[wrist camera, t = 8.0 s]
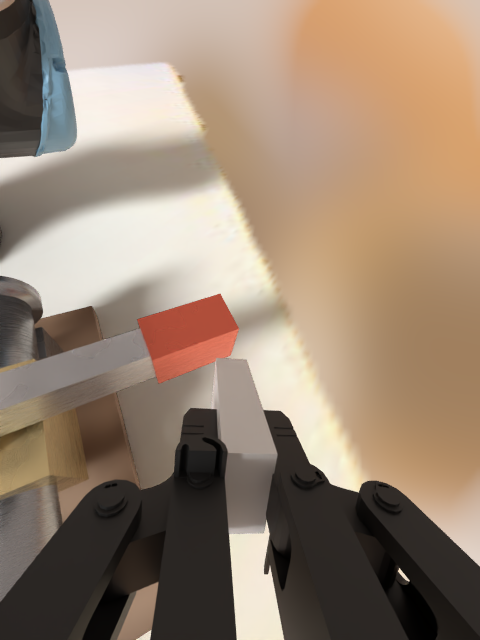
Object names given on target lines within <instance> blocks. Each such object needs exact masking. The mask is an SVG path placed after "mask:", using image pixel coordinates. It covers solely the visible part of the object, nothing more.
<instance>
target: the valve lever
mask: <svg viewBox="0 0 480 640" xmlns="http://www.w3.org/2000/svg"><path fill="white" fill-rule="evenodd" d="M137 321H138V324H139V327H140V328H139V329H135V330H132V331H129V332H126V333H123V334H120V335H117V336H114V337H111V338H107V339H104V340H101V341H98V342H95V343H92V344H89V345H86V346H82V347H79V348H76V349H73V350H70V351H67V352H64V353H61V354H58V355H54V356H51V357H48V358H45V359H42V360H39V361H36V362H33V363H30V364H26V365H23V366H20V367H17V368H14V369H11V370H8V371H5V372H1V373H0V439H1V436H3V435H6V434H9V433H11V432H14V431H16V430H19V429H22V428H24V427H27V426H29V425H32V424H34V423H37V422H40V421H42V420H45V419H47V418H50V417H53V416H55V415H58V414H60V413H63V412H66V411H68V410H71V409H73V408H76V407H78V406H81V405H84V404H86V403H89V402H91V401H94V400H97V399H99V398H102V397H104V396H107V395H110V394H112V393H115V392H117V391H120V390H123V389H125V388H128V387H130V386H133V385H135V384H138V383H141V382H143V381H146V380H148V379H151V378H154V377H156V378H157V380H158V383H162V382H164V381H167V380H170V379H172V378H175V377H177V376H180V375H182V374H185V373H187V372H190V371H192V370H195V369H197V368H200V367H202V366H205V365H207V364H210V363H212V362H215V361H216V358H225V357H228V356H230V355H231V352H232V349H233V346H234V343H235V340H236V337H237V333H238V330H239V328H238V326H237V324H236V322H235V320H234V319H233V317H232V315H231V313H230V311H229V309H228V307H227V305H226V304H225V302H224V300H223V298H222V296H221V294H218V295H214V296H211V297H208V298H205V299H201V300H198V301H195V302H192V303H189V304H185V305H182V306H179V307H176V308H172V309H169V310H166V311H163V312H159V313H156V314H153V315H150V316H147V317H143V318H140V319H137Z"/></svg>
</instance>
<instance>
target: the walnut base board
mask: <svg viewBox="0 0 480 640" xmlns="http://www.w3.org/2000/svg"><path fill="white" fill-rule="evenodd" d="M39 327H43V328H44V329H45V331H46V332H47V333H48V334H49V335H50V336H51V337H52V338H53V340H54V341H55V342H56V343H57V344H58V345H59V346H60V347H61V348H62V350H63V351H64V352H67V351H70V350H73V349H76V348H79V347H82V346H86V345H89V344H92V343H95V342H98V341H101V340H103V338H102V334H101V330H100V326H99V322H98V318H97V315H96V313H95V311H94V309H93V307H92V306H89V307H85V308H82V309H78V310H74V311H70V312H66V313H62V314H58V315H54V316H50V317H46V318H42V319H40V320H39V321H38V322H37V323H36V324H35V328H39ZM76 412H77V418H78V423H79V428H80V434H81V439H82V445H83V450H84V455H85V461H86V466H87V471H88V477H89V479H88V480H86V481H84V482H82V483H79V484H77V485H75V486H72V487H70V488H68V489H66V490H63V491H61V492H59V493H58V494H59V501H60V508H61V515H62V522H63V523H64V521H65V520H66V519H67V518H68V516H69V515H70V514H71V513H72V511H73V510H74V509H75V508H76V506H77V505H78V504H79V502H80V501H81V500H82V499H83V497H84V496H85V495H86V494H87V493H88V492H90V491H91V490H92V489H93V488H94V487H96V486H98V485H100V484H102V483H104V482H107V481H111V480H115V479H117V480H128V481H130V482H133V483H135V484H136V485H137V486H138V488H139V489H140V490H141V488H140V484H139V480H138V476H137V472H136V468H135V464H134V460H133V456H132V452H131V448H130V445H129V441H128V437H127V433H126V429H125V425H124V421H123V417H122V413H121V409H120V405H119V401H118V397H117V393H116V392H115V393H112V394H110V395H107V396H104V397H102V398H99V399H97V400H94V401H91V402H89V403H86V404H84V405H81V406H78V407H76ZM158 583H159V582H157V583H155V584H152V585H150V586H147V587H145V588H143V589H140V590H138V591H137V592H136V595H135V598H134V600H133V602H132V605H131V607H130V610H129V612H128V614H127V617H126V619H125V622H124V624H123V626H122V629H121V631H120V634H119V636H118V638H117V640H136V639H137V638H139V637H140V636H142V635H144V634H145V633H147V632H148V631H150V630H151V629H152V624H153V617H154V610H155V603H156V597H157V590H158Z"/></svg>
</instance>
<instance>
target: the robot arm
mask: <svg viewBox="0 0 480 640" xmlns="http://www.w3.org/2000/svg"><path fill="white" fill-rule="evenodd" d="M65 65H66V64H65V60H64V56H63V49H62V44H61V40H60V36H59V32H58V28H57V24H56V21H55V17H54V14H53V11H52V8H51V6H50V3H49V1H48V0H0V158H8V157H22V156H34V157H37V156H41V155H42V154H45V153H52V152H59V151H66V150H67V149H69V148H70V147H72V146H73V145H74V144H75V141H76V138H77V125H76V116H75V109H74V103H73V97H72V91H71V86H70V81H69V77H68V73H67V70H66V68H65ZM1 239H2V232H1V228H0V243H1ZM266 519H267V523H268V528H269V533H270V536H269V541H268V547H267V553H266V558H265V564H264V574H268V572H269V567H270V566H271V572H272V577H273V582H274V588H275V593H276V598H277V603H278V609H279V614H280V619H281V624H282V630H283V635H284V640H480V566H478V565H477V564H476V563H475V562H474V561H473V560H472V559H471V558H470V557H469V556H468V555H467V554H466V553H465V552H464V551H463V550H461V548H460V547H459V546H458V545H456V543H454V542H453V541H452V540H451V539H450V538H449V537H448V536H447V535H446V534H445V533H444V532H443V531H442V530H441V529H440V528H439V527H438V526H437V525H436V524H435V523H434V522H433V521H431V520H430V519H429V518H428V517H427V516H426V515H425V514H424V513H423V512H422V511H421V510H420V509H419V508H418V507H417V506H416V505H415V504H414V503H413V502H412V501H411V500H410V499H408V498H407V497H406V496H405V495H404V494H403V493H401V492H400V491H399V490H398V489H396V488H394V487H392V486H390V485H388V484H386V483H383V482H379V481H367V482H365V483H363V484H362V486H361V488H360V491H359V493H358V492H354V491H351V490H347V489H343V488H340V487H337V486H334V485H332V484H330V483H329V481H328V479H327V477H326V476H325V475H324V473H323V472H322V471H321V470H319V469H318V468H317V467H315V466H313V465H311V464H310V463H309V461H308V459H307V457H306V454H305V452H304V450H303V448H302V446H301V444H300V441H299V439H298V437H297V435H296V433H295V431H294V430H293V426H292V424H291V422H290V420H289V418H288V417H286V416H285V415H284V414H283V413H282V412H281V411H268V410H263V408H262V405H261V402H260V399H259V396H258V393H257V390H256V387H255V384H254V381H253V378H252V375H251V372H250V369H249V366H248V363H247V360H242V359H227V358H216V363H215V373H214V383H213V393H212V403H211V409H199V408H190V409H189V410H188V412H187V413H186V414H185V415H184V418H183V426H182V432H181V439H180V443H179V444H178V446H177V448H176V452H175V466H174V473H173V474H172V476H171V477H170V478H169V479H167V480H166V481H165V482H163V483H161V484H160V485H157V486H154V487H152V488H148V489H144V490H140V489H139V488H138V486H137V485H136V484H135V483H133V482H130V481H128V480H117V479H115V480H111V481H107V482H104V483H102V484H100V485H98V486H96V487H94V488H93V489H92V490H91V491H90V492H88V493H87V494H86V495H85V496H84V497H83V499H82V500H81V501H80V502H79V504H78V505H77V506H76V508H75V509H74V510H73V511H72V513H71V514H70V515H69V516H68V518H67V519H66V520H65V521H64V523H63V524H62V525H61V526H60V528H59V529H58V530H57V531H56V533H55V534H54V535H53V536H52V538H51V539H50V540H49V541H48V543H47V544H46V545H45V547H44V548H43V549H42V550H41V552H40V553H39V554H38V555H37V557H36V558H35V559H34V560H33V562H32V563H31V564H30V565H29V567H28V568H27V569H26V570H25V572H24V573H23V574H22V575H21V577H20V578H19V579H18V580H17V582H16V583H15V584H14V585H13V587H12V588H11V589H10V591H9V592H8V593H7V594H6V596H5V597H4V598H3V599H2V601H1V602H0V640H117V638H118V636H119V634H120V631H121V629H122V626H123V624H124V622H125V619H126V617H127V614H128V612H129V610H130V607H131V605H132V602H133V600H134V598H135V595H136V592H137V591H138V590H140V589H143V588H145V587H147V586H150V585H152V584H155V583H157V582H159V583H158V590H157V597H156V603H155V610H154V617H153V624H152V631H151V638H150V640H237V638H236V624H235V611H234V597H233V583H232V570H231V556H230V543H229V534H244V533H264V531H265V525H266ZM399 568H400V569H401V570H402V572H403V573H404V574H405V575H406V577H407V578H408V579H409V580H410V581H409V582H408V581H406V580H405V579H404V578H403V577H402V576H401V575H400V574H399V572H398V570H399Z"/></svg>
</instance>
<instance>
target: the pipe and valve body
mask: <svg viewBox="0 0 480 640" xmlns="http://www.w3.org/2000/svg"><path fill="white" fill-rule="evenodd" d="M42 314H43V309H42V302H41V297H40V295H39V293H38V292H37V290H36V289H34V288H33V287H32V286H30V285H29V284H27V283H25V282H23V281H20V280H17V279H14V278H9V277H4V276H0V373H1V372H5V371H8V370H11V369H14V368H17V367H20V366H23V365H26V364H30V363H33V362H36V361H39V360H42V359H45V358H48V357H51V356H54V355H58V354H61V353H64V351H63V350H62V348H61V347H60V346H59V345H58V344H57V343H56V342H55V341H54V340H53V338H52V337H51V336H50V335H49V334H48V333H47V332H46V331H45V329H44V328H43V327H39V328H35V324H36V323H37V322H38V321H39V320H40V318H41V317H42ZM88 479H89V477H88V471H87V466H86V461H85V455H84V450H83V445H82V439H81V434H80V428H79V423H78V418H77V412H76V408H73V409H71V410H68V411H66V412H63V413H60V414H58V415H55V416H53V417H50V418H47V419H45V420H42V421H40V422H37V423H34V424H32V425H29V426H27V427H24V428H22V429H19V430H16V431H14V432H11V433H9V434H6V435H3V436H1V439H0V602H1V601H2V599H3V598H4V597H5V596H6V594H7V593H8V592H9V591H10V589H11V588H12V587H13V585H14V584H15V583H16V582H17V580H18V579H19V578H20V577H21V575H22V574H23V573H24V572H25V570H26V569H27V568H28V567H29V565H30V564H31V563H32V562H33V560H34V559H35V558H36V557H37V555H38V554H39V553H40V552H41V550H42V549H43V548H44V547H45V545H46V544H47V543H48V541H49V540H50V539H51V538H52V536H53V535H54V534H55V533H56V531H57V530H58V529H59V528H60V526H61V525H62V524H63V522H62V515H61V508H60V501H59V494H58V493H59V492H61V491H63V490H66V489H68V488H70V487H72V486H75V485H77V484H79V483H82V482H84V481H86V480H88Z"/></svg>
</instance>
